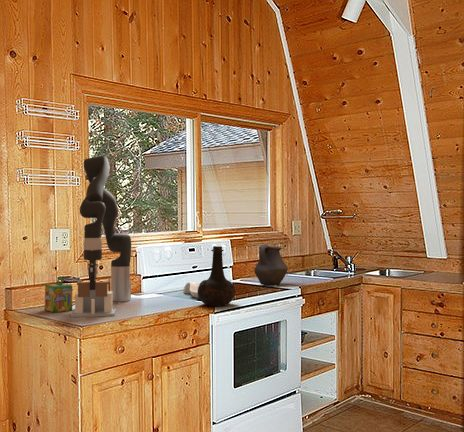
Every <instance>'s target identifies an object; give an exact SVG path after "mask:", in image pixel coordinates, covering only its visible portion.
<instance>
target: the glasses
mask: <svg viewBox="0 0 464 432" xmlns="http://www.w3.org/2000/svg"><path fill="white" fill-rule="evenodd" d="M76 285H77V292H78V297H90V281H86V282H85V281H84V282H83V280H82V279H79V280H78V281H76ZM107 291H111V278H108V279H107V281H96V282H95V297H107Z"/></svg>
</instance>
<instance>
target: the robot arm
mask: <svg viewBox="0 0 464 432" xmlns="http://www.w3.org/2000/svg"><path fill="white" fill-rule="evenodd" d="M110 167H111V166H110V162H109V160H108V157H107V156H105V155H100V156H95V157H87V158H85V159H84V161H83V169H84V172H85V175H86V177H87V180H88V183H89V184H88V185H87V188H86V195H85V197H84V199H83V200H82V202H81V204H80V206H79V214H80V216H82V218H84V219H96V220H95V222H91V223H87V224H85V225H84V227H83V229H84V230H83V231H84V232H83V233H84V234H83V235H84V237H83V260H84V261H89V262H88V264H87V271H88V272H87V274H88V275H87V276H88V282H90V290H95V282H97V281H96V280H97V278H98V276H97V275H98V268H99V264H98V263H97V261H101V260H102V259H103V243H102V242H103V241H102V226H103V231H104V235H105V240H106V244H107V248H108V249H109V252H111V253H119V254H120V255H119V256H118V257H117V258H115V259H112V260H111V261H110V291H112V302H128V301H130V300H131V299H132V295H131V294H132V291H131V290H132V289H131V287H132V282H131V264H130V263H131V260H132V238H131V236H130V235H129V234H127V233H116V231H115V222H116V220H117V217H118V214H119V207H118V203H117V201H116V198H115V196H114V195H113V194H112V193H111V192H110V191H108V189H106V188H105V186H106V183H107V181H108V177H109V175H110V171H111V169H110Z"/></svg>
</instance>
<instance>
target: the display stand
mask: <svg viewBox="0 0 464 432" xmlns="http://www.w3.org/2000/svg"><path fill="white" fill-rule="evenodd" d="M116 310H117V308H116V307H115V308H113V301H112V291H111V290H110V291H108V290H107V297H95V290H90V297H78V291H76V293H74V309H73V310H72V311H71V314H70V318H87V317H88V318H89V317H93V318H94V317H95V318H96V317H115V316H116V312H117V311H116Z"/></svg>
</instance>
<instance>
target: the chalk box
mask: <svg viewBox="0 0 464 432" xmlns="http://www.w3.org/2000/svg"><path fill="white" fill-rule="evenodd" d="M63 281H64V277H60V276H59V277H57V280H56V283H53V284H52V283H51V284H45V285H44V311H48V312H51V313H61V312H62V313H63V312H73V284H69V283H68V284H67V283H64V282H63Z"/></svg>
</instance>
